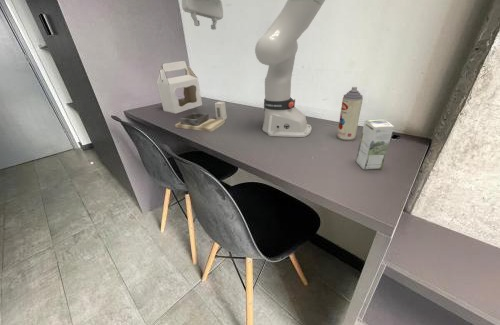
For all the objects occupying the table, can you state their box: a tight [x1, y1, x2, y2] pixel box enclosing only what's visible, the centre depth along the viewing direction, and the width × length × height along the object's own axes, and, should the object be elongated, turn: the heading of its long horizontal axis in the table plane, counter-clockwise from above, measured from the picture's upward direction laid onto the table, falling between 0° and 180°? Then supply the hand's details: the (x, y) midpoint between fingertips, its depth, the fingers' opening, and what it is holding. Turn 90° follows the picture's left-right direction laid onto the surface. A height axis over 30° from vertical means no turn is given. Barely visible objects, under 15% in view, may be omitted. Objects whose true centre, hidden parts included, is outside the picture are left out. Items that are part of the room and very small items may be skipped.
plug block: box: [214, 101, 228, 121], centre depth 118 cm, size 4×4×9 cm
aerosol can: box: [336, 86, 364, 142], centre depth 85 cm, size 7×7×20 cm
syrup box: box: [355, 119, 395, 171], centre depth 67 cm, size 6×6×14 cm
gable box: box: [156, 60, 203, 115], centre depth 139 cm, size 22×13×28 cm, turn 142°
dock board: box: [174, 112, 226, 133], centre depth 113 cm, size 22×13×4 cm, turn 66°
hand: (205, 27), depth 97 cm, fingers open, 8 cm apart
